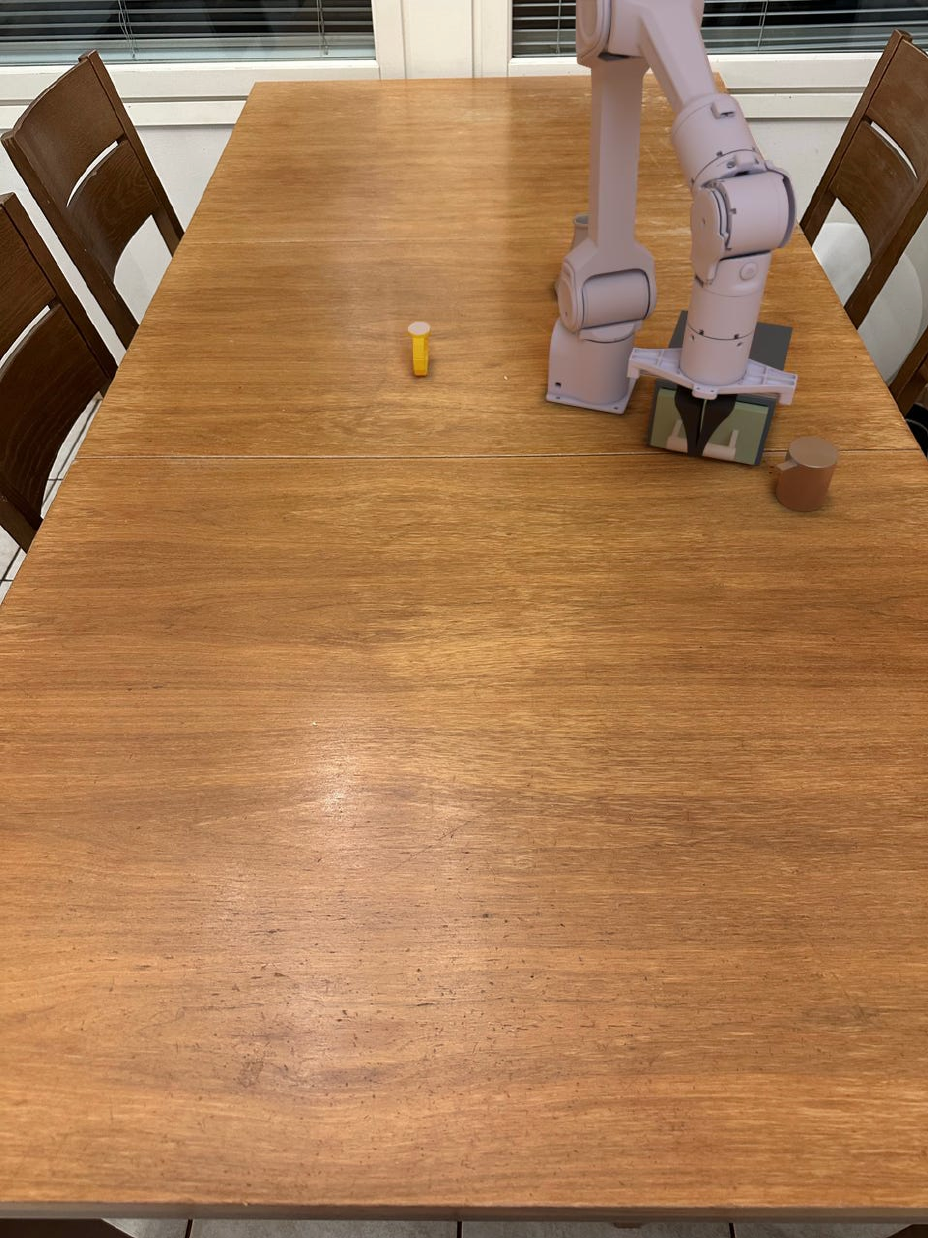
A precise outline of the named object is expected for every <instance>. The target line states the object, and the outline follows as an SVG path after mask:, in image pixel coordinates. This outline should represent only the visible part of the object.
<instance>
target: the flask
mask: <svg viewBox="0 0 928 1238" xmlns="http://www.w3.org/2000/svg"><path fill="white" fill-rule="evenodd" d="M588 217H589V213H586V212H585V213H577V214H575V216H573V217H572V224H573V225H574V227H573V236H572V241H571V245H570V247H569V250H568V253H569V252H570V251H572V250H573V249H574V248H575V247H576V246H578V245H579V244H580V243H581V242H582V241H584V240H585V239H586V238H587V237H588ZM568 253H567V254H568ZM561 272H562V268H561V269H560V272H559V274H558V276H557V279H556V281H555V282H554V286H553V287H554V290H555V293H556V295H557V297H558V286H559V282H560V280H561Z"/></svg>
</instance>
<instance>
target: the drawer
mask: <svg viewBox="0 0 928 1238" xmlns="http://www.w3.org/2000/svg"><path fill="white" fill-rule="evenodd" d="M675 393H676V390H675V389H669V388H668V390H667V389H661V388H660V390H659V393H658V398H657V404H656V411H655V418H654V424H653V431H652V438H651V444H650V445H649V446H651V447H657V448H662V449H666V450H670V451H675V452H681V453H685V454H687V439H686V433H685V429H684V425H683V422H682V419H681V417H680V414H679V412H678V410H677V408H676V407H675V402H674V396H675ZM706 401H707V399H705V402H704V406H703V412H702V420H701V428H702V422H703V416H704V409H705V404H706ZM768 409H769V407H764V406H762V405H761V404H755V403H749V402H744V401H738V400H736V403H735V407H734V409H733V411H732V412H731V414H730V415H729V416H728V417H727V418H726V419H725V420H724V421H723V422H722V423H721V424H720V425H719V427H718V428H717V429H716V430H715V432H714V433H713V434H712V436H711V438H710V439H709V441H708V443H707V444H706V446H705V449H704V451H703V454H702V457H708V458H712V459H718V460H724V461H729V462H735V463H736V462H737V463H742V464H747V465H752V466H755V465H754V463H755V459H756V455H757V452H758V448H759V444H760V440H761V436H762V432H763V428H764V425H765V421H766V417H767V413H768ZM700 432H701V430H700Z"/></svg>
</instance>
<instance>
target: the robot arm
mask: <svg viewBox="0 0 928 1238" xmlns="http://www.w3.org/2000/svg"><path fill="white" fill-rule="evenodd" d="M704 10H705V0H575V53H576V63H577V65H579V66H582V67H585V68H589V69H590V82H591V83H590V84H591V88H590V89H591V90H590V91H591V93H590V94H591V95H590V132H589V133H590V134H589V140H590V141H589V173H588V174H589V178H588V186H589V187H588V214H589V217H588V237H587V238H586V239H585V240H584V241H582V242H581V243H580V244H579V245H578V246H576V247H575V248H574V249H573V250H572V251H570V252H569V251H568V252H569V253H567V254H566V255H565V256H564V257H563V258H562V264H561V269H562V272H561V280H560V282H559V286H558V296H557V304H558V311H559V316H558V318H557V319H556V321H555V323H554V326H553V329H552V333H551V338H550V344H549V352H548V353H549V354H548V374H547V376H548V377H547V393H546V395H545V400H546V401H547V402H551V403H557V404H562V405H568V406H573V407H579V408H583V409H589V410H595V411H600V412H605V413H610V414H611V413H612V414H616V415H624V413H625V411H626V408H627V406H628V403H629V401H630V399H631V396H632V393H633V391H634V388H635V386H636V383H637V381H638V379H639V378H640V376H643V377H649V378H654V379H656V378H660V379H666V380H670V381H673V382H675V383H678V385H677V389H676V393H675V396H674V402H675V407H676V408H677V410H678V412H679V414H680V417H681V419H682V422H683V425H684V429H685V433H686V439H687V453H686V454H687V456H691V457H698V458H702V457H703V456H702V454H703V451H704V449H705V446H706V444H707V443H708V441H709V439H710V438H711V436H712V434H713V433H714V432H715V430H716V429H717V428H718V427H719V425H720V424H721V423H722V422H723V421H724V420H725V419H726V418H727V417H728V416H729V415H730V414H731V412H732V411H733V409H734V407H735V403H736V399H737V396H738V394H739V393H747V394H753V395H758V396H764V397H770V398H776V399H777V401H778V403H779V404H780V405H784V406H785V405H786V406H791V405H792V402H793V398H794V394H795V392H796V388H797V384H798V383H797V382H798V379H799V375H798V374H797V373H791V372H787V371H785V370H783V371H780V370H777V369H775V368H772V367H769V366H767V365H764V364H761V363H759V362H756V361H754V360H751V359H748V358H749V353H750V349H751V345H752V340H753V336H754V331H755V327H756V323H757V322H758V319H759V315H760V309H761V306H762V301H763V296H764V292H765V287H766V283H767V279H768V275H769V270H770V266H771V262H772V258H773V252H772V251H775V250H777V249H783V248H784V247H786V246H787V245H788V244H789V242H790V241H791V239H792V237H793V234H794V232H795V229H796V225H797V217H798V200H797V193H796V189H795V187H794V184H793V181H792V177H791V174H789V172H788V171H787V170H786V169H785V168H782V167H777V166H776V165H775V163H774V162H773V160H770V159H766V160H765V159H764V158H763V157H762V155H761V153H760V150H759V148H758V144H757V143H756V140H755V138H754V136H753V134H752V131H751V128H750V127H749V124H748V121H747V119H746V117H745V114H744V112H743V110H742V108H741V105H740V103H739V101H738V99H737V98H736V97H734V96H733V95H731V94H729V93H725V92H724V93H723V92H719V90H718V87H717V84H716V80H715V77H714V73H713V70H712V66H711V64H710V63H711V62H710V60H709V55H708V53H707V50H706V46H705V43H704V40H703V39H704V38H703V37H702V33H701V27H702V24H703V23H702V22H703V18H704V17H703V16H704ZM649 70H651V72H652V74H653V75H654V77H655V80H656V81H657V83H658V85H659V87H660V90H661V91H662V93H663V94H664V97H665V98H666V100H667V102H668V104H669V106H670V108H671V110H672V112H673V113H674V115H675V119H674V120H673V123H672V125H671V128H670V132H669V140H670V145H671V147H672V149H673V152H674V154H675V157H676V159H677V162H678V164H679V167H680V170H681V172H682V174H683V177H684V180H685V182H686V185H687V188H688V190H689V192H690V195H691V198H692V199H693V203H690V210H689V226H690V235H691V249H690V250H691V251H690V257H689V259H690V267H691V269H692V270H693V272H694V275H693V281H692V286H691V292H690V298H689V303H688V304H689V305H688V310H687V311H688V316H687V322H686V328H685V334H684V340H683V346H682V348H674V349H668V348H641V347H635V339H636V332H637V331H641V330H642V328H643V321H647V320H648V319H650V318H651V317H652V315H653V314H654V313H653V312H654V311H655V309H656V305H657V300H658V285H657V280H656V271H655V270H656V269H655V267H656V265H655V264H656V261H655V257H654V256H653V254H652V252H651V251H650V249H648V248H647V246H646V245H644V244H643V243H641V242H640V241H639V240H637V239H635V237H636V235H635V234H636V233H635V232H636V217H637V216H636V215H637V198H638V182H639V180H638V178H639V176H638V175H639V163H640V162H639V161H640V144H641V127H642V108H643V107H642V105H643V88H644V77H645V75H646V73H647V72H648V71H649ZM705 399H707V401H706V404H705V409H704V416H703V422H702V428H701V420H702V412H703V406H704V402H705ZM700 430H701V432H700Z"/></svg>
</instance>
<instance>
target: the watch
mask: <svg viewBox="0 0 928 1238" xmlns="http://www.w3.org/2000/svg"><path fill="white" fill-rule="evenodd" d="M431 333H432V331H431V325H430V324H429V323H428V322H425V321H415V322H412V323H410V324H409V325H408V327H407V336H408V337H409V338H411V339H412V365H413V374H414V375H415V376H419V377H420V376H427V375H428V367H429V337H430V336H431Z"/></svg>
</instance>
